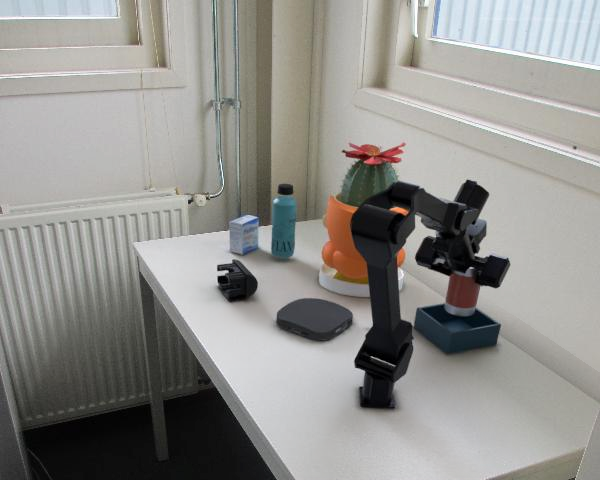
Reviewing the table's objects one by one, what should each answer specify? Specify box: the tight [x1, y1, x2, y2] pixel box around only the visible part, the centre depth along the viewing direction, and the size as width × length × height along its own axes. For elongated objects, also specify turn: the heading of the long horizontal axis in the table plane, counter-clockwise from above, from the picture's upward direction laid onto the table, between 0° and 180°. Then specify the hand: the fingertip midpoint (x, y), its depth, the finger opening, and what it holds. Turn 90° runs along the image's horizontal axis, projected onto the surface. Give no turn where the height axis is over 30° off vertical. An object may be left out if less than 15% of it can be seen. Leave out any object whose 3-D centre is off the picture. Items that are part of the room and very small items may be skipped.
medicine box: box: [228, 214, 260, 256], centre depth 186 cm, size 8×4×9 cm, turn 148°
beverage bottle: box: [270, 183, 298, 258], centre depth 179 cm, size 6×7×20 cm
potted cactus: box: [318, 141, 408, 298], centre depth 162 cm, size 22×22×35 cm
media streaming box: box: [275, 297, 354, 341], centre depth 152 cm, size 15×15×3 cm
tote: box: [413, 302, 502, 355], centre depth 150 cm, size 13×13×5 cm
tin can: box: [444, 260, 481, 316], centre depth 145 cm, size 7×7×11 cm
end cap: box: [216, 258, 259, 303], centre depth 162 cm, size 10×7×7 cm
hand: (467, 279), depth 145 cm, fingers closed on tin can, 7 cm apart
